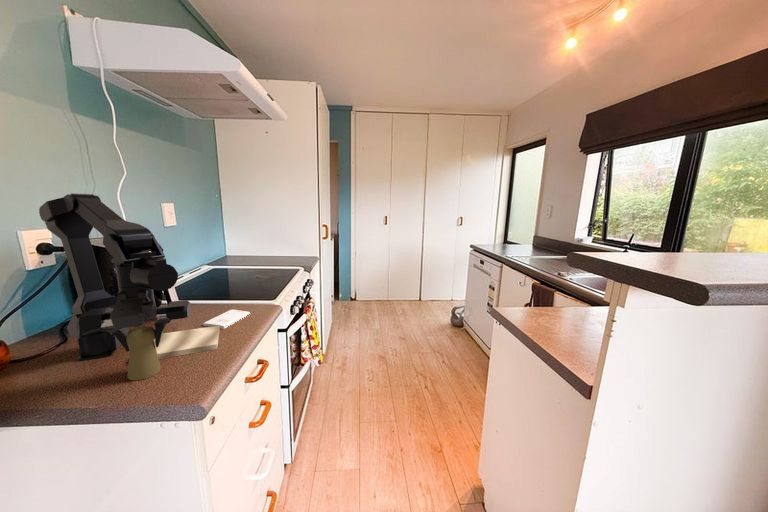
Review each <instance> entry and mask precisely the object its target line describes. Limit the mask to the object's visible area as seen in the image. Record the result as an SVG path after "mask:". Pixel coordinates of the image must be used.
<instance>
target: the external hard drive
mask: <svg viewBox="0 0 768 512" xmlns="http://www.w3.org/2000/svg"><path fill="white" fill-rule="evenodd" d="M249 314H250V315H251V312H250V311H245V310H240V309H239V310H238V309H229V310H227V311H226V312H223V313H221V314H220V315H216V316H215V317H213V318H211V319H209V320H206V321H205V322H203V323H202V326H203V327H213V326H219V327H220V330H221V329H222V330H224V329H227V328H229V327H231V326H232V325H234V324H236V323H237V321H238V322H240V321H241V320H243V319H245V318H247V317H248V316H247V315H249ZM250 315H249V316H250ZM246 316H247V317H246ZM244 317H245V318H244ZM242 318H243V319H242ZM240 319H241V320H240ZM239 320H240V321H239ZM235 322H236V323H235ZM230 325H231V326H230ZM228 326H229V327H228Z"/></svg>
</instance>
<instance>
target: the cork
mask: <svg viewBox="0 0 768 512" xmlns="http://www.w3.org/2000/svg"><path fill="white" fill-rule="evenodd" d="M155 329H156V328H154V327H152V326H148V325H146V326H139V327H134V328H133V329H131V330H129V332H128V334H127V336H126V341H127V343H128V344H129V345H130V351H129V352H128V353H129V355H128V364H127V365H128V366H127V377H126V378H127V379H128V380H130V381H142V380H146V379H149V378H152V377H154V376H156V375H157V374H159V373H160V371H162V370H161V369H162V366H161V362H160V359H158V355H157V351H156V347H155V344H154V339H155Z"/></svg>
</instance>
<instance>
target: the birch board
mask: <svg viewBox="0 0 768 512" xmlns="http://www.w3.org/2000/svg"><path fill="white" fill-rule="evenodd" d="M220 330H221V328H220V327H219V326H213V327H207V326H205V327H199V328H193V329H191V328H190V329H186V330H179V331H172V332H163V335H162V338H161V341H160V344H159V346H158V347H156V344H155V339H154V344H155V347H156V351H157V355H158V359H159V360H163V359H168V358H173V357H179V356H185V355H191V354H196V353H203V352H209V351H213V350H218V345H219V338H220V332H221V331H220Z"/></svg>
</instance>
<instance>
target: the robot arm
mask: <svg viewBox="0 0 768 512" xmlns="http://www.w3.org/2000/svg"><path fill="white" fill-rule="evenodd" d="M38 213H39V216H40V219H41V220H42V221H43V222H44V223H45V226H46V229H47V230H48V231H49V232H50V233H52V234H53V235H55V236H56V238H59V240H60V241H61V243H62V246H63V251H64V253H65V257H66V260H67V264H68V266H69V270H70V274H71V277H72V280H73V283H74V286H75V291H76V292H77V298H76V300H75V302H74V304H73V305H72V308H71V311H72V316H71V317H70V321H69V323H68V325H67V327H66V329H67V332H68V335H69V336H70V337H73V338H74V339H77V344H78V349H79V356H78V357H77V358H76V361H80V362H81V361H85V360H92V359H97V358H104V357H110V356H112V355H114V353H115V352H116V351H117V349H118V348H119V347H120V346H122V347H123V348H124V350H125V351H126V352H128V353H129V352H130V345H129V344H128V343H127V341H126V336H127V334H128V332H129V331H130V330H129V328H138V327H143V325H145V322H146V320H149V319H151V318H157V319H156V320H155V322H154V324H153V325H154V327H155V328H154V329H155V344H156V347H158V346H159V344H160V341H161V338H162V335H163V333H165V329H166V326H167V324H170V323H172V321H174V320H179V319H180V320H181V319H186V318H188V316H190V315H189V314H190V312H191V311H192V307H191V302H190V301H189V300H187V299H183V300H174V301H170V302H169V303H168V305H167V306H158V307H157V304H156V300H155V295H154V291H157V292H165V291H166V292H167V291H168V290H170V289H172V288H173V287H174V286H175V285H176V283H177V282H178V279H179V272H178V271H177V270H176V268H175V267H174V266H172V265H171V264H168V263H167V259H166V255H165V253H164V249H163V247H162V245H160V243H159V242H158V241H157V239H156V237H155V235H154V234H153V232H152V231H151V230H150V229H149V228H147V227H145V226H143V225H141V223H136V222H131V221H127V220H126V219H124V218H123V217H121V216H120V215H119V214H118V213H116V212H115V211H114V210H113V209H111V208H110V207H109V206H107V205H106V204H105V203H103V202H102V199H101V198H100V196H98V195H95V194H93V193H70V194H66V195H64V196H63V197H59V198H55V199H51V200H47V201H45V202H44V203H43V204H42V205H41V206H39V209H38ZM93 229H95V230H96V231H97V232H98V233H100V234H101V235H102V245H103V246H104V248H105V250H106V251H107V252H108V253H109V254H110V255H111V256H112V257H113V258H112V259H111V264H115V272H116V273H115V274H116V279H117V287H118V292H117V296H116V295H112V294H110V293H108V291H106V290H105V287H104V282H103V280H102V276H101V272H100V270H99V267H98V263H97V259H96V256H95V252H94V249H93V246H92V242H91V238H90V234H91V232H92V231H93Z"/></svg>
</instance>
